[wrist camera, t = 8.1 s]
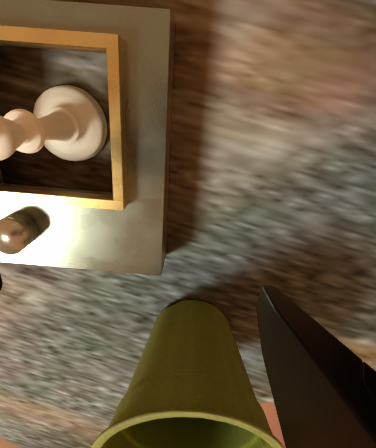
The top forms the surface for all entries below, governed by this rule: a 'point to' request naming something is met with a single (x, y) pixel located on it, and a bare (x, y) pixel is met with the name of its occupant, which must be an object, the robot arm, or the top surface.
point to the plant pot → (189, 388)
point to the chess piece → (56, 125)
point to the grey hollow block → (120, 142)
